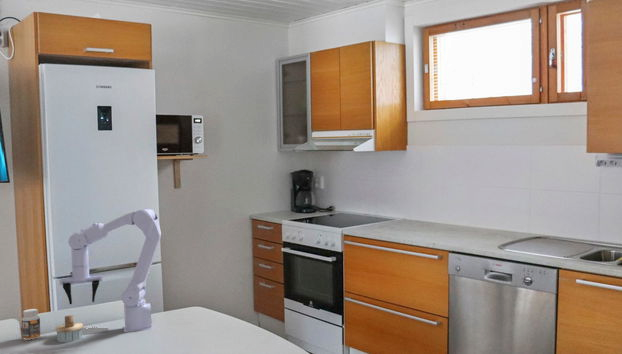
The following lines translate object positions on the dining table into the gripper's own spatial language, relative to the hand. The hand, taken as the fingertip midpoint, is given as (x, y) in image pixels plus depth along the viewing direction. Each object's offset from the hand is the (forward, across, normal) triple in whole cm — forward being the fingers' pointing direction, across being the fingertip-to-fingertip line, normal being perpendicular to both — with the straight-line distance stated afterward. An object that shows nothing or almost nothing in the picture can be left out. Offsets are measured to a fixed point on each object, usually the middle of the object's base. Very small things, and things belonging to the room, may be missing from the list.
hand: (82, 302), depth 219 cm
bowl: (+10, +4, +10) cm, 15 cm away
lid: (+7, +4, +10) cm, 13 cm away
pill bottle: (+11, +17, +2) cm, 20 cm away
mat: (+10, -4, +2) cm, 11 cm away
